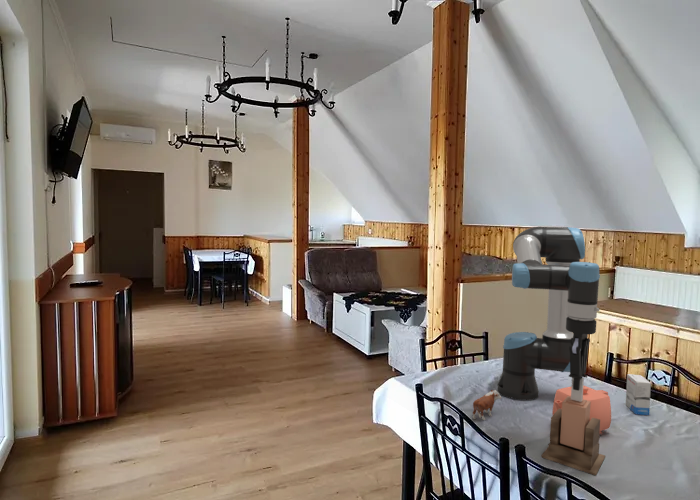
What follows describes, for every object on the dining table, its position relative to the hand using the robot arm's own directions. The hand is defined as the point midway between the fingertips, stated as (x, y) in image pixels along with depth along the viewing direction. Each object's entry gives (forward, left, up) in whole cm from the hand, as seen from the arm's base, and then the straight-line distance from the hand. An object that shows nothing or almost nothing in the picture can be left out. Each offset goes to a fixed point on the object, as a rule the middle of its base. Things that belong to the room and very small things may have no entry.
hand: (576, 399), depth 129 cm
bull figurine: (-30, +9, -17) cm, 36 cm away
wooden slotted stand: (0, 0, -17) cm, 17 cm away
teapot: (-3, +20, -17) cm, 27 cm away
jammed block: (0, 0, -13) cm, 13 cm away
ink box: (+9, +50, -17) cm, 54 cm away
